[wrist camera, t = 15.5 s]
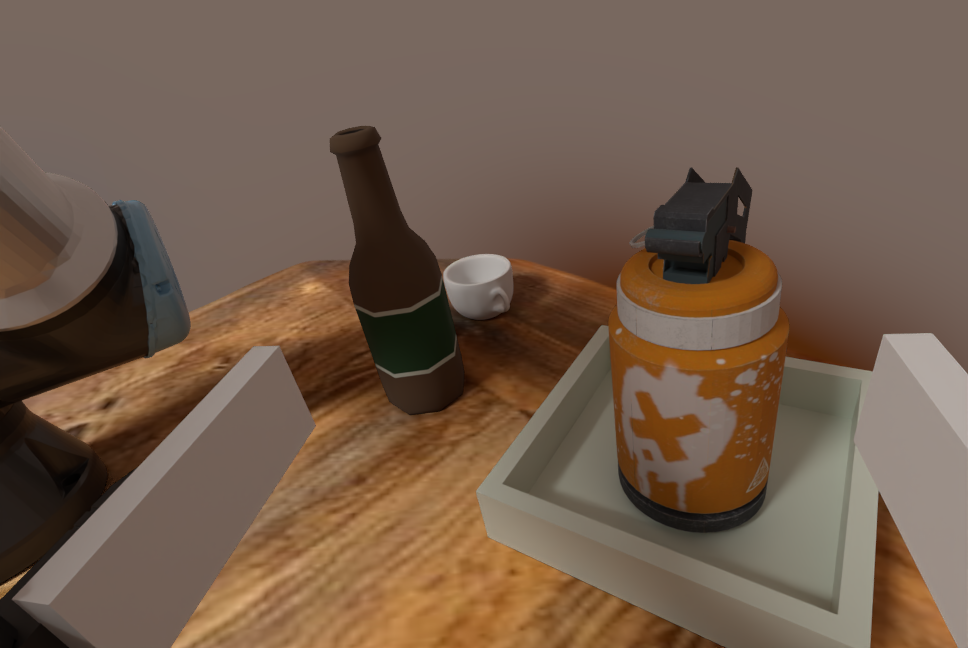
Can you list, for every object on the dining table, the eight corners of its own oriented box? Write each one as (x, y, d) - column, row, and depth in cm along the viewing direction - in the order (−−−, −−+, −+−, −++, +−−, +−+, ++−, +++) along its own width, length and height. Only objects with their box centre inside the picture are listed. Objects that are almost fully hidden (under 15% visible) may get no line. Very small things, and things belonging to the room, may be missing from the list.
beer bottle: (480, 397, 47) (417, 123, 35) (399, 429, 46) (302, 152, 33) (453, 356, 54) (391, 112, 42) (381, 383, 52) (293, 136, 40)
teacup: (441, 310, 63) (431, 270, 60) (496, 287, 65) (488, 247, 63) (481, 344, 55) (472, 300, 52) (541, 316, 57) (535, 273, 55)
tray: (488, 537, 35) (475, 491, 32) (604, 366, 48) (601, 325, 46) (849, 704, 24) (870, 654, 22) (870, 423, 37) (884, 373, 35)
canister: (597, 506, 34) (567, 217, 24) (656, 403, 41) (652, 146, 31) (746, 565, 29) (789, 230, 19) (784, 435, 36) (829, 142, 26)
